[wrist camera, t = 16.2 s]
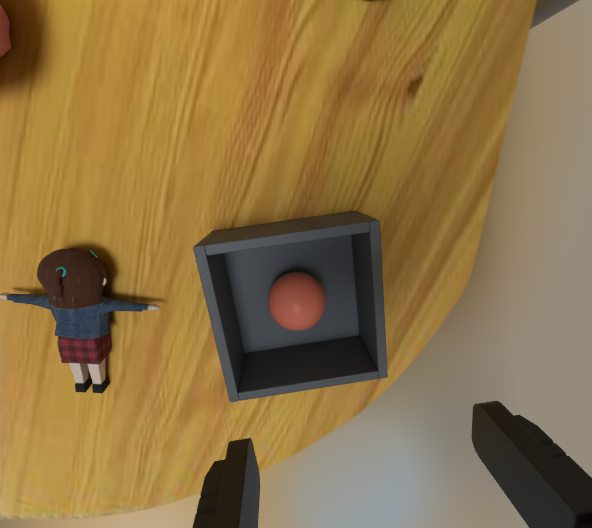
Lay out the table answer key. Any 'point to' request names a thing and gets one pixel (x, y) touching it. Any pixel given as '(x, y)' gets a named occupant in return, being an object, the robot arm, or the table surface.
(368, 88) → the table surface
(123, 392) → the table surface
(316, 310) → the toy ball
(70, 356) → the toy
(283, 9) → the table surface
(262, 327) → the bin
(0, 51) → the apple
